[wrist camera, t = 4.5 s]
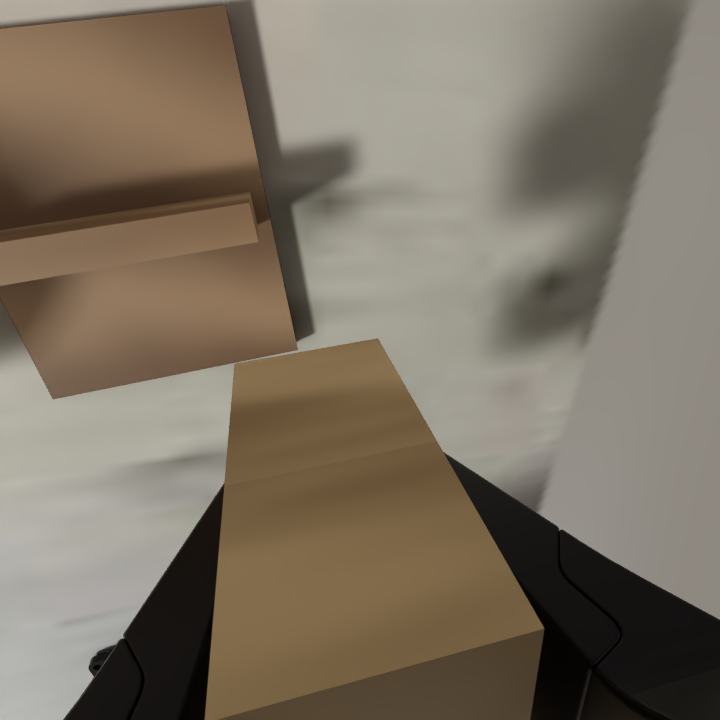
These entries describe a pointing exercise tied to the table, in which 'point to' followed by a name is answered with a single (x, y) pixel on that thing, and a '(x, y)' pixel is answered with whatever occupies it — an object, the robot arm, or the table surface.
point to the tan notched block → (356, 559)
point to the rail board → (133, 202)
